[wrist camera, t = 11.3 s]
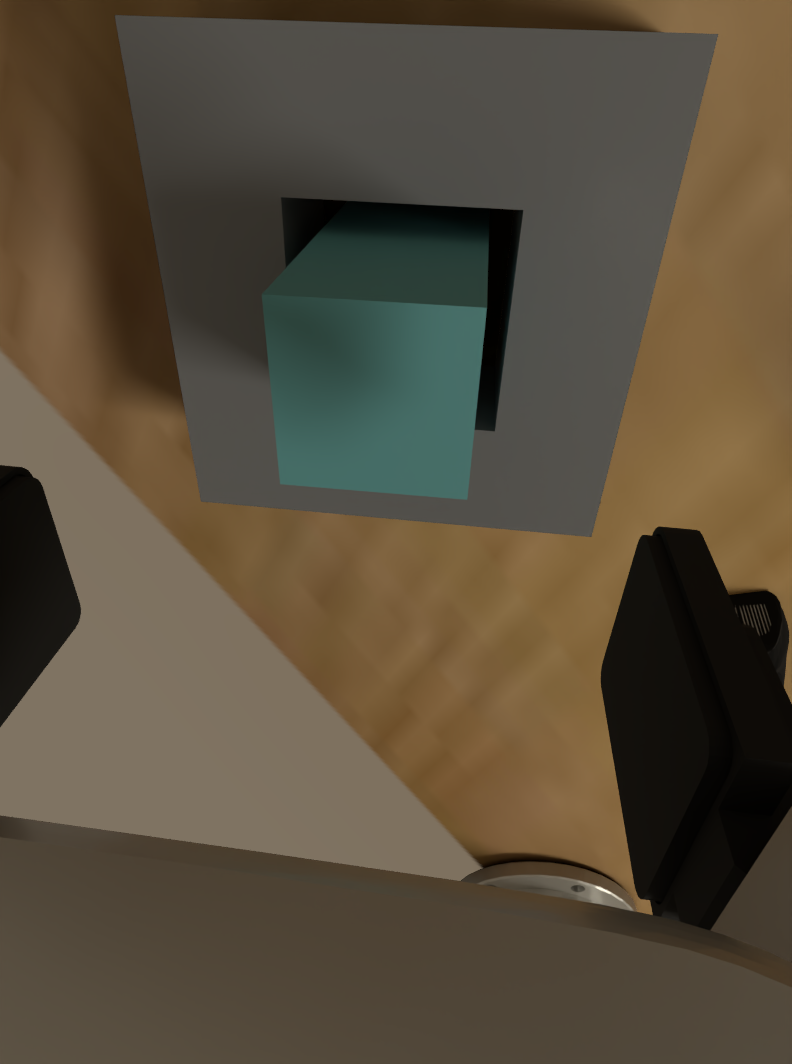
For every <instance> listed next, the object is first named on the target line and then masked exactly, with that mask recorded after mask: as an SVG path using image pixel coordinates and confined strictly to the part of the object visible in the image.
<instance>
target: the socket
mask: <svg viewBox="0 0 792 1064" xmlns="http://www.w3.org/2000/svg"><path fill="white" fill-rule="evenodd" d="M115 20H116V26H117V31H118V37H119V43H120V48H121V54H122V60H123V65H124V71H125V76H126V82H127V88H128V93H129V99H130V105H131V110H132V116H133V121H134V127H135V133H136V138H137V144H138V150H139V155H140V161H141V166H142V172H143V178H144V183H145V189H146V195H147V200H148V206H149V211H150V217H151V223H152V228H153V234H154V240H155V245H156V251H157V256H158V262H159V268H160V273H161V279H162V285H163V290H164V296H165V301H166V307H167V313H168V318H169V324H170V330H171V335H172V341H173V347H174V352H175V358H176V363H177V369H178V375H179V380H180V386H181V392H182V397H183V403H184V408H185V414H186V420H187V425H188V431H189V437H190V442H191V448H192V453H193V459H194V465H195V470H196V476H197V482H198V487H199V493H200V498H201V501H202V502H213V503H224V504H235V505H246V506H257V507H268V508H279V509H290V510H301V511H312V512H323V513H334V514H345V515H356V516H367V517H378V518H389V519H400V520H411V521H422V522H433V523H444V524H455V525H466V526H477V527H488V528H499V529H510V530H521V531H531V532H542V533H553V534H564V535H575V536H586V537H591V536H592V532H593V528H594V524H595V520H596V516H597V512H598V508H599V504H600V500H601V496H602V492H603V489H604V485H605V481H606V477H607V473H608V469H609V465H610V461H611V457H612V453H613V449H614V445H615V441H616V437H617V433H618V429H619V425H620V421H621V417H622V413H623V409H624V405H625V401H626V397H627V393H628V389H629V386H630V382H631V378H632V374H633V370H634V366H635V362H636V358H637V354H638V350H639V346H640V342H641V338H642V334H643V330H644V326H645V322H646V318H647V314H648V310H649V306H650V302H651V298H652V294H653V290H654V286H655V283H656V279H657V275H658V271H659V267H660V263H661V259H662V255H663V251H664V247H665V243H666V239H667V235H668V231H669V227H670V223H671V219H672V215H673V211H674V207H675V203H676V199H677V195H678V191H679V187H680V183H681V180H682V176H683V172H684V168H685V164H686V160H687V156H688V152H689V148H690V144H691V140H692V136H693V132H694V128H695V124H696V120H697V116H698V112H699V108H700V104H701V100H702V96H703V92H704V88H705V84H706V80H707V76H708V73H709V69H710V65H711V61H712V57H713V53H714V49H715V45H716V41H717V37H718V34H696V33H664V32H633V31H601V30H569V29H538V28H506V27H474V26H443V25H411V24H379V23H348V22H316V21H284V20H253V19H221V18H189V17H158V16H126V15H115ZM324 199H325V200H344V201H363V202H381V203H400V204H419V205H438V206H457V207H475V208H494V209H513V210H514V212H513V220H512V228H511V237H510V245H509V253H508V261H507V270H506V278H505V286H504V294H503V303H502V311H501V319H500V327H499V336H498V344H497V352H496V360H495V366H491V365H481V371H480V381H479V390H478V400H477V410H476V420H475V429H474V439H473V449H472V458H471V468H470V478H469V488H468V497H467V500H464V499H452V498H440V497H428V496H416V495H404V494H392V493H380V492H368V491H356V490H344V489H332V488H320V487H308V486H296V485H284V484H280V478H279V467H278V457H277V447H276V437H275V426H274V416H273V406H272V395H271V385H270V375H269V364H268V354H267V344H266V334H265V323H264V313H263V303H262V293H263V292H264V291H265V290H266V289H267V288H268V287H269V286H270V285H271V284H272V283H273V282H274V280H275V279H276V278H277V277H278V276H279V275H280V274H281V273H282V272H283V271H284V270H285V269H286V267H287V266H288V265H289V264H290V263H291V262H292V261H293V260H294V259H295V258H296V257H297V255H298V254H299V253H300V252H301V251H302V250H303V249H304V248H305V247H306V246H307V245H308V244H309V242H310V241H311V240H312V239H313V238H314V237H315V236H316V235H317V234H318V233H319V232H320V230H321V229H322V228H323V227H324Z"/></svg>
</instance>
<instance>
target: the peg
mask: <svg viewBox="0 0 792 1064" xmlns="http://www.w3.org/2000/svg"><path fill="white" fill-rule="evenodd" d="M489 216H490V208H475V207H457V206H438V205H419V204H400V203H381V202H363V201H347V202H346V203H345V204H344V206H343V207H342V208H341V209H340V210H339V211H338V212H337V213H336V214H335V215H334V216H333V217H332V219H331V220H330V221H329V222H328V223H327V224H326V225H325V226H324V227H323V228H322V229H321V230H320V232H319V233H318V234H317V235H316V236H315V237H314V238H313V239H312V240H311V241H310V242H309V244H308V245H307V246H306V247H305V248H304V249H303V250H302V251H301V252H300V253H299V254H298V255H297V257H296V258H295V259H294V260H293V261H292V262H291V263H290V264H289V265H288V266H287V267H286V269H285V270H284V271H283V272H282V273H281V274H280V275H279V276H278V277H277V278H276V279H275V280H274V282H273V283H272V284H271V285H270V286H269V287H268V288H267V289H266V290H265V291H264V292H263V293H262V303H263V313H264V323H265V334H266V344H267V354H268V364H269V375H270V385H271V395H272V406H273V416H274V426H275V437H276V447H277V457H278V467H279V478H280V484H284V485H296V486H308V487H320V488H332V489H344V490H356V491H368V492H380V493H392V494H404V495H416V496H428V497H440V498H452V499H464V500H467V497H468V488H469V478H470V468H471V458H472V449H473V439H474V429H475V420H476V410H477V400H478V390H479V381H480V371H481V361H482V351H483V342H484V332H485V322H486V312H487V289H488V252H489Z"/></svg>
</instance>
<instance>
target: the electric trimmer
mask: <svg viewBox="0 0 792 1064" xmlns="http://www.w3.org/2000/svg"><path fill="white" fill-rule="evenodd" d="M729 597H730V599H731V601H732V604H733V606H734V608H735V611H736V613H737V615H738V617H739V620H740V622H741V624H749V625H750V626H752V627H754V628H755V629H756V631H757V632H758V634H759V635H760V637H761V639H762V641H763V644H764V646H765V648H766V650H767V652H768V654H769V656H770V659H771V661H772V663H773V665H774V667H775V669H776V672H777V674H778V676H779V678H780V680H781V682H782V685H783V687H784V678H785V669H786V657H787V650H788V644H789V630H788V625H787V621H786V618H785V615H784V612H783V610H782V608H781V605H780V602H779V600H778V599H777V597H776V596H775V595H774V594H773V593H771V592H768V591H761V592H752V593H744V594H736V595H729Z"/></svg>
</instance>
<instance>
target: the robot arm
mask: <svg viewBox="0 0 792 1064" xmlns="http://www.w3.org/2000/svg"><path fill="white" fill-rule="evenodd" d="M80 614H81V607H80V603H79V599H78V596H77V593H76V590H75V587H74V584H73V580H72V578H71V574H70V571H69V568H68V565H67V562H66V559H65V556H64V552H63V549H62V546H61V543H60V540H59V537H58V534H57V530H56V527H55V524H54V521H53V518H52V515H51V512H50V509H49V506H48V503H47V499H46V496H45V493H44V490H43V487H42V485H41V483H40V482H39V480H38V479H36V478H33V476H32V474H31V473H30V472H29V471H28V470H27V469H25V468H22V467H12V466H2V465H0V727H1V725H2V724H3V723H4V722H5V720H6V719H7V718H8V716H9V715H10V713H11V712H12V710H14V708H15V707H16V706H17V704H18V703H19V702H20V700H21V699H22V698H23V696H24V695H25V694H26V692H27V691H28V690H29V689H30V687H31V686H32V685H33V683H34V682H35V681H36V679H37V678H38V677H39V675H40V674H41V673H42V671H43V670H44V668H45V667H46V666H47V665H48V663H49V662H50V661H51V659H52V658H53V657H54V655H55V654H56V653H57V652H58V650H59V649H60V648H61V646H62V645H63V644H64V642H65V641H66V640H67V638H68V637H69V636H70V634H71V633H72V632H73V630H74V629H75V628H76V626H77V624H78V622H79V619H80ZM601 688H602V694H603V700H604V706H605V712H606V718H607V724H608V730H609V736H610V742H611V748H612V754H613V760H614V765H615V771H616V777H617V783H618V789H619V795H620V801H621V807H622V813H623V819H624V825H625V831H626V837H627V843H628V849H629V855H630V861H631V867H632V873H633V879H634V884H635V889H636V892H637V895H638V897H639V898H640V899H645V900H650V902H651V907H652V912H653V915H649V914H644V913H640V912H637V909H636V906H635V903H634V901H633V899H632V898H631V897H630V895H629V894H628V893H627V892H626V891H625V890H624V889H623V888H621V887H620V886H619V885H618V884H616V883H615V882H613V881H611V880H610V879H608V878H606V877H604V876H602V875H600V874H597V873H595V872H592V871H589V870H586V869H583V868H579V867H575V866H571V865H566V864H559V863H552V862H537V861H524V862H510V863H504V864H498V865H493V866H490V867H486V868H483V869H480V870H478V871H476V872H474V873H471V874H469V875H468V876H466V877H465V878H464V879H462V880H461V881H454V880H448V879H441V878H434V877H427V876H420V875H413V874H407V873H400V872H393V871H386V870H379V869H372V868H365V867H359V866H351V865H345V864H338V863H331V862H324V861H318V860H311V859H304V858H297V857H290V856H283V855H276V854H269V853H263V852H256V851H249V850H242V849H234V848H228V847H221V846H213V845H207V844H199V843H192V842H185V841H178V840H171V839H163V838H156V837H150V836H143V835H136V834H129V833H121V832H114V831H106V830H100V829H93V828H85V827H78V826H71V825H64V824H56V823H50V822H43V821H35V820H28V819H21V818H13V817H6V816H0V1064H792V704H791V702H790V700H789V697H788V695H787V693H786V691H785V689H784V687H783V685H782V682H781V680H780V678H779V676H778V674H777V672H776V669H775V667H774V665H773V663H772V661H771V659H770V656H769V654H768V652H767V650H766V648H765V646H764V644H763V641H762V639H761V637H760V635H759V634H758V632H757V631H756V629H755V628H754V627H752V626H750V625H749V624H741V622H740V620H739V617H738V615H737V613H736V611H735V608H734V606H733V604H732V601H731V599H730V597H729V595H728V592H727V590H726V588H725V586H724V583H723V581H722V579H721V576H720V574H719V572H718V570H717V567H716V565H715V563H714V561H713V558H712V556H711V554H710V551H709V549H708V547H707V545H706V542H705V540H704V538H703V536H702V534H701V533H700V531H698V530H691V529H680V528H669V527H657V528H656V529H655V531H654V532H653V535H652V536H650V535H642V536H641V537H640V539H639V542H638V544H637V548H636V551H635V555H634V558H633V561H632V565H631V568H630V572H629V575H628V578H627V582H626V585H625V589H624V592H623V595H622V599H621V602H620V605H619V609H618V612H617V616H616V619H615V622H614V626H613V629H612V633H611V636H610V639H609V643H608V646H607V650H606V653H605V656H604V660H603V664H602V669H601Z"/></svg>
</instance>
